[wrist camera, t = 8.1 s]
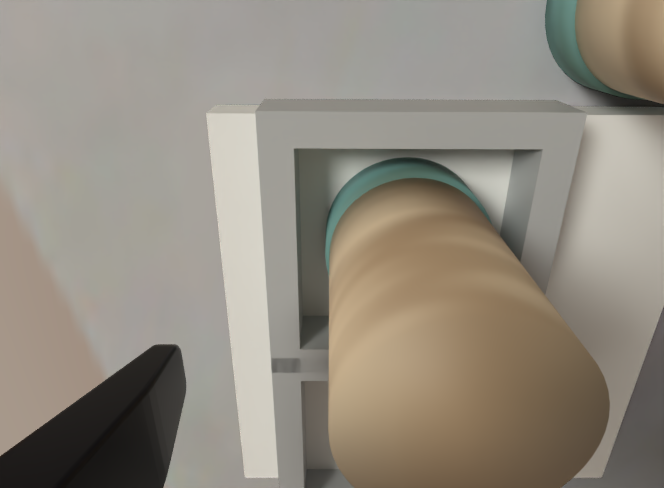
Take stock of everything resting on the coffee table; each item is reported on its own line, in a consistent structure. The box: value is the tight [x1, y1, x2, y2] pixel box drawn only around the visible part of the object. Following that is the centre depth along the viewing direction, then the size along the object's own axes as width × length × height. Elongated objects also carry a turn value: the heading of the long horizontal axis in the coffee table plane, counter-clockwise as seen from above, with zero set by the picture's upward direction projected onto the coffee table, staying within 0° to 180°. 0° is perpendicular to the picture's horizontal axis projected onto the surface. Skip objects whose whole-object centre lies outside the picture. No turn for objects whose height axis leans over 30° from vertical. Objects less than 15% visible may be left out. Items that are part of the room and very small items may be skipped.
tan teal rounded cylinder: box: [325, 157, 610, 488], centre depth 10 cm, size 4×4×7 cm
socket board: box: [206, 99, 664, 488], centre depth 15 cm, size 13×14×3 cm
